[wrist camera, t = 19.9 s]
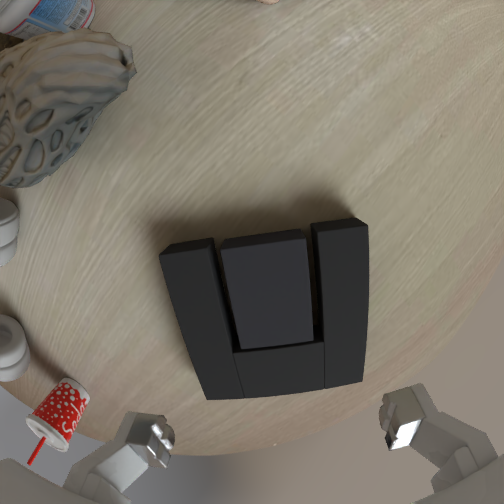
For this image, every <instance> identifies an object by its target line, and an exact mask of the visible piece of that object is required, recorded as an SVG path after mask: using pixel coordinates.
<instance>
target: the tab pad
mask: <svg viewBox="0 0 504 504" xmlns="http://www.w3.org/2000/svg"><path fill="white" fill-rule="evenodd" d="M220 253H221V258H222V263H223V268H224V273H225V278H226V283H227V288H228V292H229V297H230V302H231V306H232V311H233V316H234V320H235V325H236V329H237V334H238V338H239V343H240V347H241V349H249V348H259V347H268V346H277V345H285V344H293V343H300V342H307V341H313V321H312V305H311V290H310V277H309V266H308V254H307V244H306V238H305V236H304V234H303V232H302V231H301V229H294V230H287V231H280V232H272V233H265V234H258V235H251V236H243V237H236V238H229V239H225V240H224V242H223V244H222V247H221V249H220Z"/></svg>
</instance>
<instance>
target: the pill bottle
mask: <svg viewBox="0 0 504 504" xmlns="http://www.w3.org/2000/svg"><path fill="white" fill-rule="evenodd" d="M94 14H95V4H94V2H93V1H92V0H0V32H1V33H4V34H8V35H11V36H15V37H18V38H21V39H25V40H28V39H30V38H31V37H33V36H36V35H40V34H43V33H48V32H55V31H62V32H63V33H68V32H70V31H72V30H73V31H74V30H77V29H80V28H84V27H85V28H88V26H89V25H90V23H91V21H92V19H93V17H94Z"/></svg>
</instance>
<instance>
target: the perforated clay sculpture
mask: <svg viewBox="0 0 504 504" xmlns="http://www.w3.org/2000/svg"><path fill="white" fill-rule="evenodd" d="M136 73H137V71H136V68H135V65H134V62H133V56H132V47H131V46H128V45H125V44H122V43H119V42H117V41H116V40H115V39H114V38H113V36H112V35H111V34H110V33H103V32H94V31H92V30H90V29H88V28H85V27H84V28H80V29H77V30H74V31H73V30H72V31H70V32H68V33H63V32H62V31H55V32H48V33H43V34H40V35H36V36H33V37H31V38H30V39H28V40H26V41H24V42H22V43H19V44H17V45H15V46H13V47H11V48H5V49H4V50H2V51H1V52H0V185H2V186H6V187H11V188H24V187H30V186H33V185H35V184H37V183H39V182H40V181H42V180H43V179H44V178H45V177H46V176H47V175H49V176H50V175H51V174H53V173H54V172H55V171H56V170H57V169H58V168H59V167H60V165H61V164H63V163H64V162H65V161H67V160H68V159H69V158H70V157H72V156H73V155H74V154H75V153H76V151H77V150H78V148H79V147H80V146H81V144H82V143H83V142H84V140H85V138H86V137H87V135H88V134H89V132H90V130H91V128H92V126H93V124H94V122H95V121H96V120H97V118H98V117H99V115H100V114H101V113H102V109H104V108H105V107H106V106H107V105H109V104H110V103H111V102H112V101H114V100H115V99H116V98H118V97H119V95H120V94H121V93H122V92H124V91H126V90H127V87H128V83H129V80H130V79H131V78H132V77H133V76H134V75H135V74H136Z"/></svg>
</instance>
